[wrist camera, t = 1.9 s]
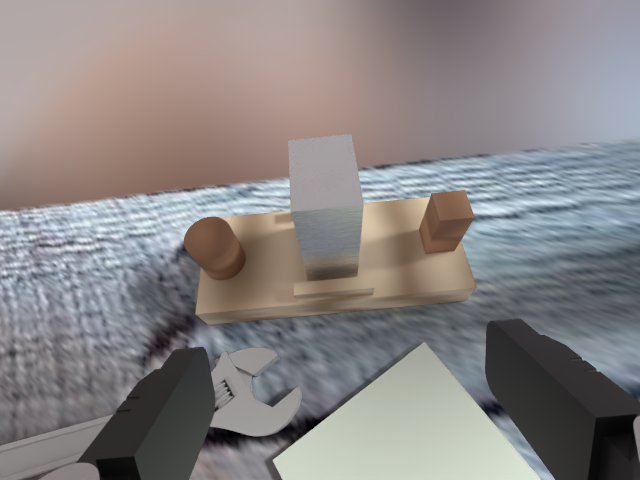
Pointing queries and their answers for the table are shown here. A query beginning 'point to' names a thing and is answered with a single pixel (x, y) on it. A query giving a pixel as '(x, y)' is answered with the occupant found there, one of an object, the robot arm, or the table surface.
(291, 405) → the adjustable wrench
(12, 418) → the table surface
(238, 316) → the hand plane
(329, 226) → the grey block
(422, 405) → the mat
